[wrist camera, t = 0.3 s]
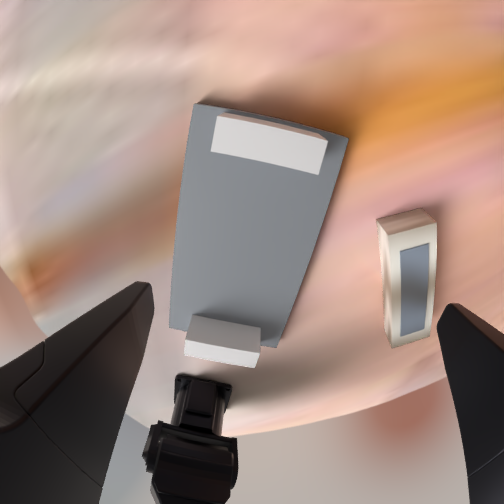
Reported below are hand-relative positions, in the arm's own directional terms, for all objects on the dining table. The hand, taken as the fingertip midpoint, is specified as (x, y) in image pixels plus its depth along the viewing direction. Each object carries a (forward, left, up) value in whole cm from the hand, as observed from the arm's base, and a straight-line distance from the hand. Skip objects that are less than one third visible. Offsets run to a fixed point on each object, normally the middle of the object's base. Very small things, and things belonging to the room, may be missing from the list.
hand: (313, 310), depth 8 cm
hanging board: (-6, +2, -14) cm, 15 cm away
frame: (-6, -12, -14) cm, 20 cm away
